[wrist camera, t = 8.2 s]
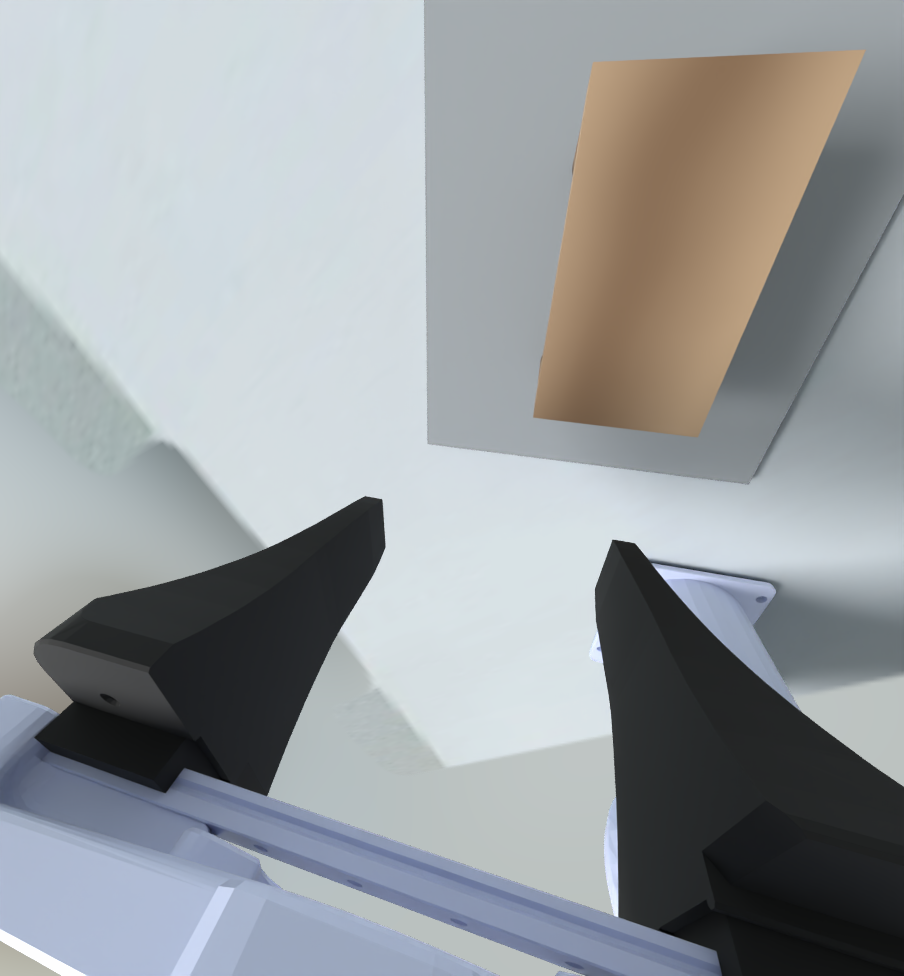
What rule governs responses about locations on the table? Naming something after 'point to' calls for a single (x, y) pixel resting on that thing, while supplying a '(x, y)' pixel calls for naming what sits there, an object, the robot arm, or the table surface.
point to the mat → (545, 194)
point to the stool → (677, 227)
